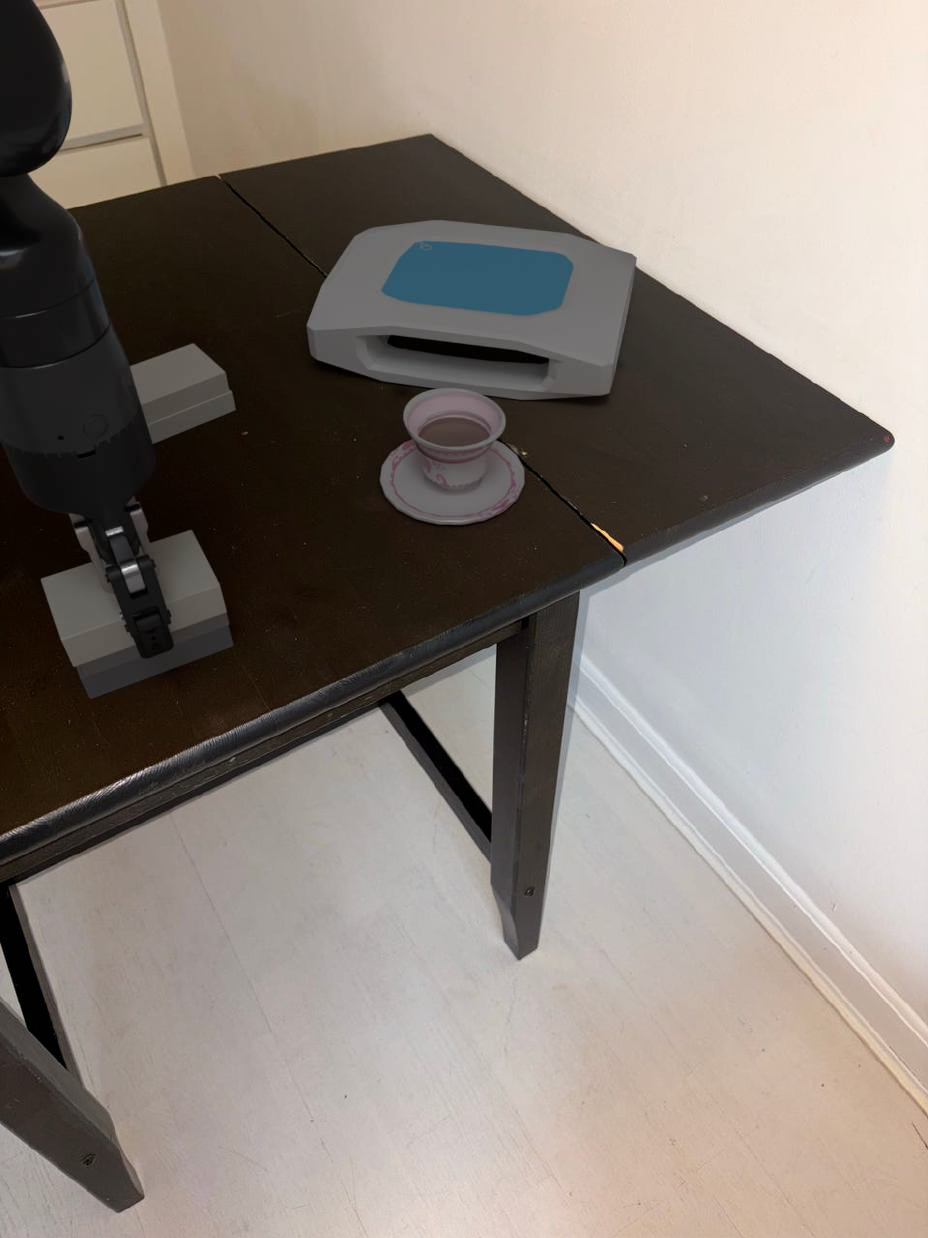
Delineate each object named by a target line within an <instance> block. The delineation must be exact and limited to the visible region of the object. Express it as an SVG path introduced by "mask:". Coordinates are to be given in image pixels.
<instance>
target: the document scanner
mask: <svg viewBox="0 0 928 1238" xmlns="http://www.w3.org/2000/svg"><path fill="white" fill-rule="evenodd" d="M637 259H638V258H637V257H636V256H635V255H634V254H633V253H631V252H627V251H624V250H621V249H617V248H615V247H611V246H608V245H605V244H601V243H598V242H596V241H593V240H589V239H586V238H583V237H580V236H577V235H575V234H572V233H568V232H558V231H549V230H541V229H530V228H522V227H513V226H504V225H495V224H494V225H493V224H482V223H473V222H463V221H453V220H445V219H431V220H423V221H415V222H407V223H398V224H390V225H383V226H382V225H381V226H375V227H370V228H367V229H365V230H363V231H362V232H360V233H358V234H356V235H354V236H353V238H352V239H351V241H350V242H349V244H348V245H347V247H346V248H345V250H344V251H343V253H342V254H341V256H340V257H339V259H338V260H337V262H336V263H335V265H334V266H333V268H332V269H331V271H330V273H329V274H328V275H327V277H326V278H325V280H324V281H323V283H322V285H321V286H320V289H319V292H318V294H317V297H316V299H315V302H314V305H313V307H312V310H311V313H310V316H309V317H308V320H307V324H306V332H307V339H308V345H309V346H308V347H309V353H310V356H312V357H313V358H314V359H315V360H317V361H320V362H323V363H325V364H329V365H332V366H335V367H338V368H341V369H344V370H347V371H349V372H350V371H351V372H352V373H353V372H354V373H357V374H359V375H362V376H365V377H369V378H372V379H374V380H377V381H381V382H386V383H393V384H400V385H408V386H414V387H421V388H422V387H423V388H429V389H430V388H431V389H440V388H458V389H465V390H470V391H473V392H476V393H479V394H481V395H484V396H492V397H497V398H506V399H513V400H520V401H528V400H529V401H532V400H534V401H535V400H549V399H551V400H552V399H567V398H569V399H570V398H585V397H598V396H599V397H600V396H601V397H602V396H605V395H608V394H610V392H611V390H612V386H613V383H614V379H615V374H616V370H617V366H618V361H619V356H620V352H621V347H622V344H623V343H622V342H623V339H624V334H625V329H626V323H627V318H628V314H629V308H630V303H631V299H632V293H633V287H634V280H635V273H636V265H637ZM391 336H399V337H407V338H416V339H424V340H431V341H432V340H433V341H439V342H449V343H455V344H464V345H472V346H480V347H488V348H495V349H497V348H498V349H504V350H513V351H518V352H522V353H527V354H530V355H536V356H538V357H543V358H547V359H548V362H544V363H529V362H514V361H513V362H512V361H499V360H485V359H484V360H483V359H477V358H468V357H461V356H453V355H445V354H438V353H432V352H427V351H426V352H424V351H419V350H414V349H413V350H412V349H407V348H400V347H395V346H393V345H391V344H389V343H388V341H389V339H390V337H391Z"/></svg>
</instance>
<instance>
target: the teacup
mask: <svg viewBox="0 0 928 1238" xmlns="http://www.w3.org/2000/svg"><path fill="white" fill-rule="evenodd" d="M402 419H403V423H404V426H405V429H406V432H407V434H408V436H409V437H410V438H411V439H410V440H407V441H404V442H403V443H402V444H400V445H399V446H398V447H397V448H395V449H394V450H392V451H390V453H389V454H388V456H387V457H386V459H385V460H384V462H382V463H383V464H382V465H381V469H380V477H379V484H380V486H381V489H382V492H383V495H384V498H386V500H387V501H388V502H389V503H390V504H391V505H392V506H393V507H394V508H395V509H396V510H397V511H398V512H401V513H402V514H405V515H407V516H408V517H410V518H413V519H415V520H418V521H422V522H425V523H430V524H435V525H440V526H441V525H442V526H443V525H444V526H445V525H446V526H447V525H449V526H463V525H468V524H469V525H470V524H474V523H478V522H484V521H486V520H489V519H491V518H493V517H496V516H497V515H499V514H503V513H504V512H505V511H506V510H508V509H509V508H510V507H511V506H512V505H513V504H514V503H515V502H516V501H518V499H519V497H520V495H521V494H522V491H523V489H524V487H525V467H524V466H523V464H522V462H521V460H520V458H519V457H518V454H516V453H515V452H514V451H513V450H512V449H510V448H509V447H508V446H507V445H506V444H504V443H502V442H501V441H499V440H497V439H498V438H499V437H500V436H501V435H502V434H503V432H504V431H505V428H506V425H507V418H506V415H505V412H504V411H503V409H502V408H501V407H500V406H499V404H497V403H496V402H495V401H494V400H492V399H491V398H489V397H487V395H482V394H479V393H476V392H473V391H470V390H465V389H458V388H440V389H436V388H432V389H430V390H426V391H423V392H421V393H418V394H417V395H415V396H414V397H412V398H411V399H410V400H409V401H408V402H407V404H406V405H405V407H404V410H403V414H402Z"/></svg>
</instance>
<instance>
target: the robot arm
mask: <svg viewBox="0 0 928 1238" xmlns="http://www.w3.org/2000/svg"><path fill="white" fill-rule="evenodd" d="M72 115H73V90H72V85H71V79H70V75H69V71H68V66H67V63H66V61H65V57H64V55H63V52H62V49H61V47H60V45H59V43H58V41H57V38H56V36H55V34H54V33H53V30H52V29H51V27H50V25H49V23H48V21H47V20H46V18H45V16H44V14H43V13H42V12H41V10H40V8H39V6H38V5H37V4H36V2H35V1H34V0H0V443H1V446H2V448H3V450H4V452H5V454H6V457H7V459H8V461H9V464H10V466H11V468H12V471H13V473H14V475H15V478H16V480H17V482H18V484H19V486H20V489H21V491H22V492H23V494H24V495H25V497H26V498H27V499H28V500H29V501H30V502H32V504H34V505H36V506H38V507H39V508H42V509H44V510H47V511H49V512H53V513H57V514H59V513H60V514H68V516H69V519H70V521H71V524H72V527H73V529H74V532H75V535H76V537H77V540H78V542H79V545H80V547H81V548H82V549H83V550H84V551H85V552H87V553H88V555H89V557H90V561H91V562H92V563H93V565H94V568H95V570H96V573H97V575H98V578H99V580H100V583H101V585H102V588H103V590H104V591H106V592H108V593H113V594H114V595H115V597H116V600H117V602H118V605H119V607H120V610H121V612H120V613H119V614H120V617H121V619H122V620H125V622H126V625H124V627H125V629H126V632H127V633H128V632H130V635H131V637H133V639H134V641H135V644H136V647H137V649H138V652H139V654H140V656H141V657H142V658H144V659H147V658H151V657H154V656H156V655H159V654H162V653H165V652H167V651H170V650H171V649H172V648H173V647H174V642H173V639H172V636H171V633H170V630H169V628H168V625H169V624H171V620H170V617H172V616H171V613H170V610H169V609H168V610H167V607H166V604H165V601H164V597H163V594H162V591H161V588H160V585H159V582H158V579H157V576H158V575H159V572H160V570H159V567H158V564H157V561H156V559H155V556H154V553H153V550H152V548H151V545H150V543H151V542H150V539H149V537H148V535H147V534H148V533H147V532H148V530H149V523H148V522H147V518H146V515H145V513H144V510H143V508H142V505H141V503H140V501H139V500H138V501H136V497H135V496H136V494H137V493H139V492H140V491H141V490H142V489H143V488H144V487H146V485H147V484H148V483H149V481H150V480H151V478H152V476H153V474H154V472H155V469H156V466H157V465H156V464H157V454H156V450H155V447H154V444H153V443H152V440H151V436H150V433H149V430H148V426H147V423H146V419H145V416H144V413H143V409H142V406H141V403H140V399H139V396H138V393H137V389H136V386H135V383H134V379H133V376H132V372H131V369H130V366H131V365H130V363H129V359H128V357H127V353H126V350H125V349H124V346H123V343H122V342H121V339H120V338H119V336H118V334H117V331H116V329H115V327H114V323H113V322H112V319H111V316H110V314H109V311H108V310H109V309H108V307H107V304H106V300H105V297H104V294H103V290H102V287H101V284H100V281H99V280H100V279H99V278H98V274H97V269H96V267H95V263H94V260H93V255H92V253H91V251H90V248H89V244H88V242H87V239H86V237H85V235H84V233H83V230H82V229H81V227H80V225H79V224H78V222H77V221H76V219H75V218H74V216H73V215H72V214H71V213H70V212H69V211H68V210H67V209H66V208H65V207H64V206H63V205H61V204H60V203H58V201H56V200H55V199H54V198H52V197H51V196H50V195H49V194H48V193H46V192H45V191H44V190H42V188H41V187H39V186H38V184H37V183H36V182H35V181H34V180H33V178H32V176H31V175H30V174H31V173H33V172H35V171H37V170H38V169H40V168H42V167H43V166H45V165H46V164H48V163H49V162H50V161H51V160H52V159H53V158H54V157H55V156H56V155H57V154H58V152H59V151H60V149H61V148H62V146H63V145H64V142H65V140H66V138H67V135H68V133H69V130H70V126H71V121H72ZM140 546H141V549H142V551H143V554H144V555H142V556H139V557H137V556H138V555H139V547H140ZM135 558H136V559H135ZM101 559H103V560H104V561H105V562H106V565H108V564H110V565H112V566H109V567H106V568H105V569H104V566H103V563H102V561H101Z"/></svg>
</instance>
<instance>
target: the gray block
mask: <svg viewBox="0 0 928 1238" xmlns="http://www.w3.org/2000/svg"><path fill="white" fill-rule="evenodd" d="M229 625H230V620H229V616H228V611H227V612H226V613H223V614H221V615H218V616H215V617H212V618H210V619H207V620H204V621H201V622H198V623H196V624H193V625H190V626H187V627H184V628H182V629H179V630H176V631H173V632H170V633H171V636H172V639H173V642H174V647H173V648H172V649H171V650H170V651H167V652H165V653H162V654H159V655H156V656H154V657H151V658H147V659H144V658H142V657H141V656H140V654H139V652H138V649H137V647H136V645H134V646H131V647H129V648H126V649H123V650H120V651H117V652H115V653H112V654H109V655H106V656H104V657H101V658H98V659H95V660H92V661H90V662H87V663H84V664H81V665H78V666H76V667H75V668H76V671H77V673H78V676H79V679H80V681H81V683H82V686H83V689H84V690H85V692H86V694H87V696H88V698H89V700H92V699H96V698H98V697H101V696H104V695H105V694H109V693H112V692H115V691H117V690H119V689H122V688H125V687H128V686H130V685H133V684H136V683H138V682H141V681H144V680H146V679H149V678H152V677H154V676H157V675H160V674H163V673H165V672H168V671H171V670H173V669H176V668H179V667H181V666H184V665H187V664H189V663H193V662H195V661H198V660H199V659H203V658H205V657H208V656H211V655H213V654H217V653H220V652H223V651H224V650H227V649H230V648H233V647H234V646H235V645H234V641H233V637H232V633H231V630H230V626H229Z"/></svg>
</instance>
